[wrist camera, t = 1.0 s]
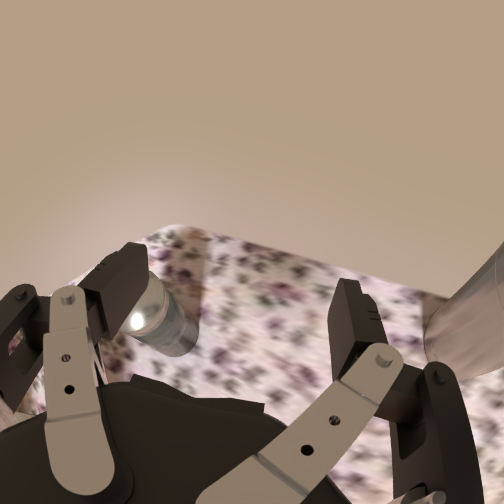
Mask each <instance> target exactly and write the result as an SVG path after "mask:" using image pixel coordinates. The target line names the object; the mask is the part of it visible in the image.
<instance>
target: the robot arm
mask: <svg viewBox="0 0 504 504" xmlns="http://www.w3.org/2000/svg"><path fill="white" fill-rule="evenodd" d="M148 283H149V268H148V255H147V247H146V245H144V244H138V243H133V242H128V243H127V244H126V245H125V246H124V247H123V248H122V249H121V250H119V251H116V252H114V253H112V254H110V255H108V256H106V257H105V258H104V259H103V260H102V261H101V262H100V264H98V265H97V266H96V267H95V269H93V270H92V271H91V272H90V273H89V274H88V275H87V276H86V277H85V278H84V279H83V280H82V281H81V282H80V283H79V284H78V285H77V286H65V287H62V288H60V289H58V290H57V291H55V292H54V293H53V295H52V296H51V297H47V296H38V295H37V292H36V289H35V287H34V286H33V285H30V284H21V285H18V286H16V287H14V288H13V289H12V290H10V291H9V292H8V294H6V295H5V297H3V299H2V300H1V301H0V504H352V503H351V502H350V501H349V500H348V499H347V498H346V496H345V495H344V494H343V493H342V492H341V491H340V489H339V488H338V487H337V486H336V485H335V483H334V482H333V481H332V480H331V478H330V477H329V476H328V475H327V474H328V472H329V471H330V470H331V469H332V468H333V467H334V465H335V464H336V463H337V462H338V461H339V460H340V458H341V457H342V456H343V455H344V454H345V452H346V451H347V450H348V449H349V447H350V446H351V445H352V443H353V442H354V441H355V440H356V438H357V437H358V436H359V434H360V433H361V432H362V430H363V429H364V428H365V426H366V425H367V423H368V422H369V421H370V419H371V418H372V416H375V417H378V418H382V419H385V420H388V421H389V426H390V437H391V450H392V467H393V500H392V501H391V502H389V503H388V504H484V496H483V488H482V481H481V474H480V468H479V463H478V457H477V452H476V448H475V443H474V439H473V434H472V430H471V426H470V422H469V419H468V415H467V411H466V408H465V404H464V401H463V397H462V394H461V391H460V388H459V385H458V382H461V381H465V380H468V379H471V378H474V377H477V376H480V375H483V374H486V373H489V372H492V371H494V370H497V369H500V368H502V367H504V242H503V243H502V244H501V246H500V247H499V248H498V249H497V250H496V252H495V253H494V254H493V255H492V256H491V257H490V258H489V259H488V261H487V262H486V263H485V264H484V265H483V266H482V267H481V268H480V269H479V270H478V271H477V272H476V273H475V274H474V275H473V276H472V277H471V279H470V280H469V281H468V282H467V283H466V284H465V285H464V286H463V287H462V288H461V289H460V290H458V292H457V293H455V294H454V295H453V296H452V297H451V298H450V299H449V300H448V301H447V302H446V303H445V304H444V305H442V306H441V307H440V308H439V309H438V310H437V311H436V312H435V313H434V314H433V315H432V317H431V319H430V320H429V322H428V325H427V328H426V331H425V338H424V343H425V352H426V356H427V359H428V361H429V363H428V364H427V365H426V366H425V368H424V369H423V370H422V369H419V368H416V367H413V366H410V365H407V364H405V363H403V358H402V356H401V354H400V353H399V352H398V350H396V349H395V348H394V347H392V346H390V345H389V344H388V341H387V337H386V334H385V331H384V327H383V324H382V321H381V318H380V315H379V314H378V309H377V305H376V303H375V302H374V300H373V299H372V298H371V297H370V296H369V295H368V294H363V293H362V290H361V287H360V283H359V281H358V280H351V279H345V278H340V279H339V281H338V284H337V287H336V290H335V293H334V296H333V299H332V302H331V305H330V308H329V312H328V320H327V323H328V333H329V343H330V354H331V366H332V379H333V383H332V384H331V385H330V386H329V387H328V388H327V389H326V390H325V391H324V392H323V393H322V394H321V395H320V396H319V397H318V398H317V399H316V401H315V402H314V403H313V404H311V405H310V406H309V407H308V408H307V409H306V410H305V411H304V412H303V413H302V414H301V415H300V416H299V417H298V418H297V419H296V420H295V421H294V422H293V423H292V424H291V425H289V426H287V425H285V424H284V423H283V422H281V421H279V420H278V419H276V418H274V417H272V416H270V415H268V414H265V413H263V412H264V405H265V403H258V402H252V401H246V400H240V399H234V398H194V397H191V396H189V395H187V394H185V393H183V392H181V391H179V390H177V389H175V388H173V387H171V386H169V385H167V384H166V383H164V382H160V381H157V380H153V379H150V378H146V377H143V376H140V375H137V374H133V376H132V378H131V380H130V382H115V383H109V384H108V381H107V377H106V373H105V369H104V364H103V359H102V355H101V350H100V345H99V342H98V341H99V340H100V339H101V337H103V338H106V339H109V340H112V339H113V338H114V336H115V335H116V333H117V332H118V330H119V329H120V327H121V326H122V324H123V323H124V321H125V320H126V318H127V317H128V315H129V314H130V312H131V311H132V309H133V308H134V306H135V305H136V303H137V302H138V301H139V299H140V298H141V296H142V295H143V293H144V292H145V290H146V289H147V286H148ZM19 330H20V332H21V334H22V336H23V339H22V340H21V342H20V343H19V344H18V346H17V347H16V348H15V350H14V351H13V353H12V354H11V355H9V353H8V345H9V343H10V341H11V340H12V338H13V337H14V336H15V334H16V333H17V332H18V331H19ZM42 366H44V387H45V400H46V410H47V411H45V412H43V413H41V414H38V415H36V416H34V417H32V418H29V419H27V420H24V421H22V422H20V423H17V424H15V425H13V423H14V413H15V411H16V410H17V408H18V406H19V404H20V402H21V401H22V399H23V397H24V396H25V394H26V392H27V390H28V389H29V387H30V386H31V384H32V382H33V381H34V379H35V377H36V376H37V374H38V373H39V371H40V369H41V368H42Z"/></svg>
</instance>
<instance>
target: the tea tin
mask: <svg viewBox="0 0 504 504" xmlns="http://www.w3.org/2000/svg"><path fill="white" fill-rule="evenodd" d="M119 330H120V331H121V332H123V333H125V334H127V335H130V336H132V337H134V338H135V339H137V340H139V341H141V342H142V343H144V344H146V345H148V346H150V347H151V348H153V349H155V350H157V351H159V352H161V353H162V354H164V355H166V356H170V357H179V356H182V355H185V354H186V353H188V352H189V351H190V350H191V349H192V348H193V347H194V346H195V344H196V342H197V339H198V334H199V330H198V325H197V322H196V320H195V319H194V318H193V316H192V315H191V314H190V313H189V312H188V311H187V310H186V309H185V308H184V307H183V306H182V305H181V304H180V303H179V302H178V301H177V300H176V299H175V298H174V296H173V295H172V294H171V293H170V292H169V291H168V290H167V289H166V287H165V286H164V284H163V283H162V282H161V281H160V280H159V278H158V277H157V276H156V275H155V274H154V273H152V272H151V271H149V283H148V286H147V289H146V290H145V292H144V293H143V295H142V296H141V298H140V299H139V301H138V302H137V303H136V305H135V306H134V308H133V309H132V311H131V312H130V314H129V315H128V317H127V318H126V320H125V321H124V323H123V324H122V326H121V327H120V329H119Z"/></svg>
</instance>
